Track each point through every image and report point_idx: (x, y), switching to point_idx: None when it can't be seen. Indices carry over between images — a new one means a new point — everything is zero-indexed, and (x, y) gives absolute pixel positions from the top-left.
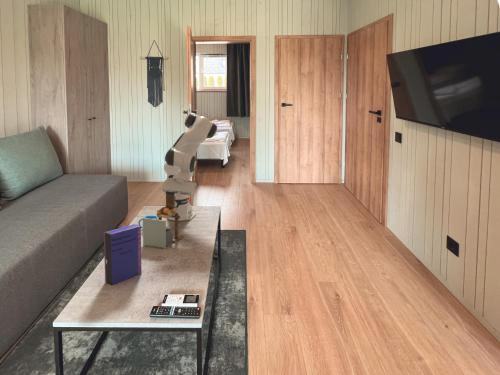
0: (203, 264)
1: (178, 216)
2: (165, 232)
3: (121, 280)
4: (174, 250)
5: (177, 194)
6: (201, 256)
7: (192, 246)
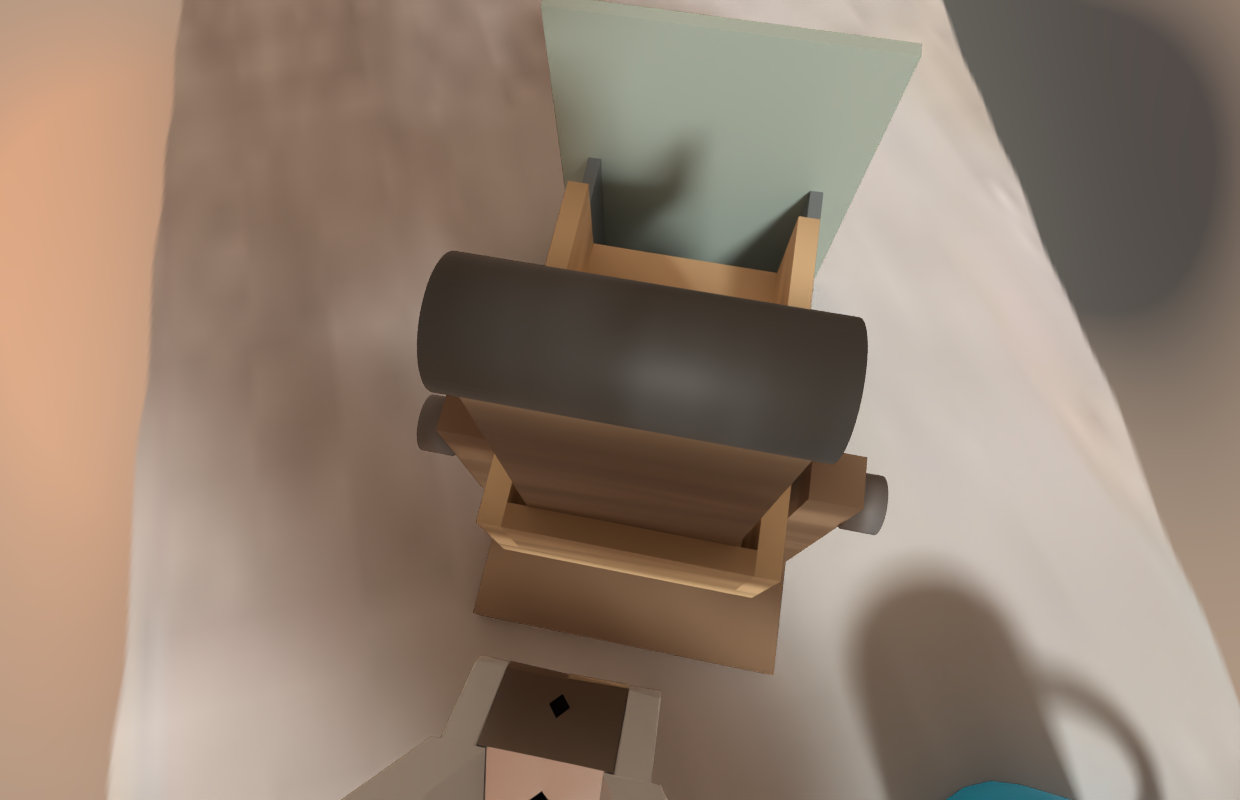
0: (209, 11)
1: (434, 396)
2: (559, 124)
3: None
4: (483, 222)
5: (399, 791)
6: (229, 142)
7: (330, 356)
